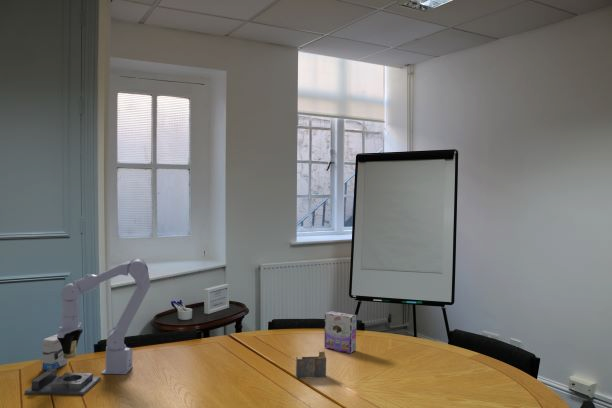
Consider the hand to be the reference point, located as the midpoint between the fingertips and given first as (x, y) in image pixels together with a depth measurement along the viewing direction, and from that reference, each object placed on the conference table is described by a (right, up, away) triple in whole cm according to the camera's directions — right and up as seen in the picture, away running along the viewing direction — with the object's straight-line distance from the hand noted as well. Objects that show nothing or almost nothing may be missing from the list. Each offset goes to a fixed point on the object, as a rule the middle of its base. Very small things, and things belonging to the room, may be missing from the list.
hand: (69, 351), depth 182 cm
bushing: (0, -2, 0) cm, 2 cm away
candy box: (+105, -11, +37) cm, 112 cm away
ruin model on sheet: (+91, -12, +4) cm, 92 cm away
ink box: (-10, -9, +8) cm, 15 cm away
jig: (+3, -9, -11) cm, 15 cm away
